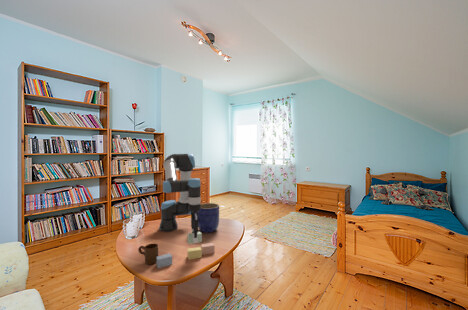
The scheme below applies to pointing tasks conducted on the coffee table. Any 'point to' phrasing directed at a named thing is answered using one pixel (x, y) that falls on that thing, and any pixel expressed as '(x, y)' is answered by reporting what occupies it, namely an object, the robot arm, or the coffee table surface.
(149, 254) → the mug
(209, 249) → the terracotta brick
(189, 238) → the sage brick
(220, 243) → the coffee table surface
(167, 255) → the slate brick
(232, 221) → the coffee table surface
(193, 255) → the mustard brick
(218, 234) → the coffee table surface
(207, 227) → the planter
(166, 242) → the coffee table surface
